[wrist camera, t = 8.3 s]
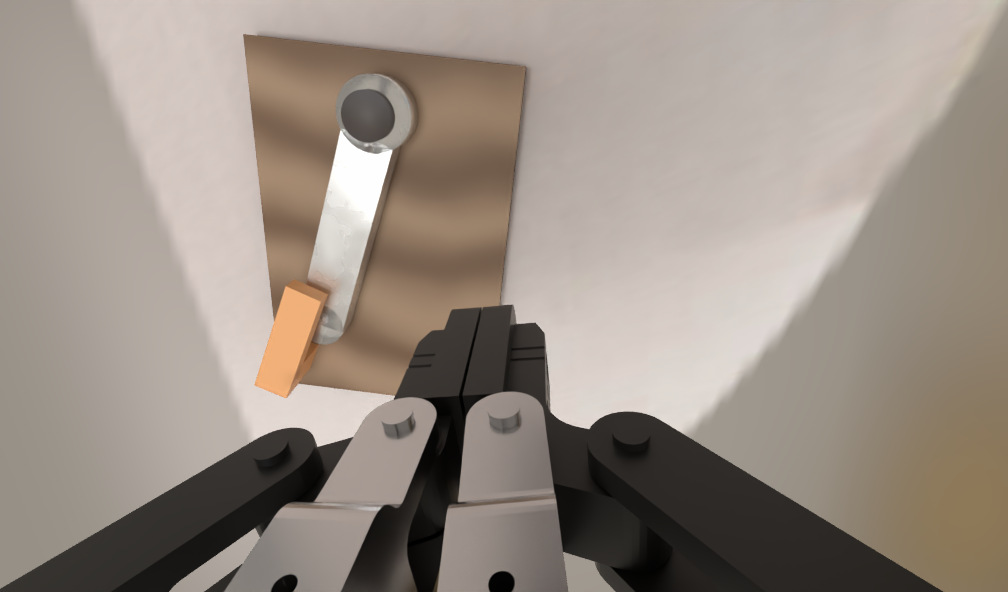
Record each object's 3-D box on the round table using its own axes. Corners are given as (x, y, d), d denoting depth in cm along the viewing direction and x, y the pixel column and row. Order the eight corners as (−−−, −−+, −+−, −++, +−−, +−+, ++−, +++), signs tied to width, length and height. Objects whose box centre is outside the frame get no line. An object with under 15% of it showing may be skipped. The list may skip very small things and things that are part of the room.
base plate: (256, 36, 30) (206, 28, 26) (526, 67, 30) (524, 64, 25) (289, 371, 41) (257, 407, 36) (489, 396, 40) (483, 436, 36)
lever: (357, 62, 29) (344, 60, 27) (426, 90, 29) (419, 91, 27) (298, 319, 36) (286, 332, 35) (354, 339, 37) (345, 353, 35)
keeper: (312, 264, 35) (285, 286, 31) (343, 278, 35) (320, 301, 31) (281, 355, 38) (254, 385, 34) (310, 368, 38) (286, 398, 35)
